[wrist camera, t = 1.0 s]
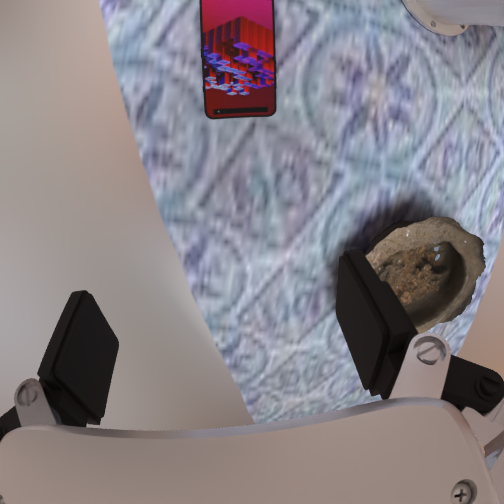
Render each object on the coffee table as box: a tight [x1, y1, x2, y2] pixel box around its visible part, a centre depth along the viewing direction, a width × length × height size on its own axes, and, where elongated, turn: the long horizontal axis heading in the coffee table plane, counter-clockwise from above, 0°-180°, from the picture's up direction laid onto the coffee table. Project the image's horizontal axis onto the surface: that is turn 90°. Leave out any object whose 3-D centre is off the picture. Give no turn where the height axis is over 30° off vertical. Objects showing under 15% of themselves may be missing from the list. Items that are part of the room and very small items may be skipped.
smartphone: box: [200, 0, 276, 119], centre depth 27 cm, size 8×1×15 cm
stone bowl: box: [364, 217, 486, 334], centre depth 41 cm, size 25×25×9 cm
